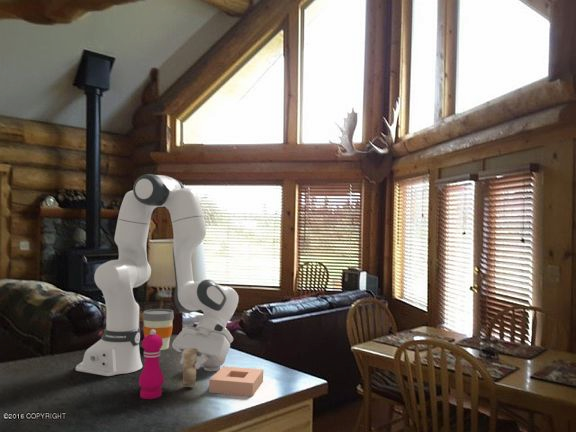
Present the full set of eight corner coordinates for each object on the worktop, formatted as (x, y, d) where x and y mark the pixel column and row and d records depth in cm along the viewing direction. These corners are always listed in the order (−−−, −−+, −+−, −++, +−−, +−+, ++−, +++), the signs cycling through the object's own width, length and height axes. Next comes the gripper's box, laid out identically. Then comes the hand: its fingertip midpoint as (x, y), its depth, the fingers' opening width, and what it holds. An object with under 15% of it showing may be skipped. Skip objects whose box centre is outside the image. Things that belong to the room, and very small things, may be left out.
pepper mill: (156, 401, 142) (158, 332, 142) (133, 398, 143) (135, 331, 143) (167, 392, 149) (169, 327, 149) (145, 390, 150) (147, 326, 150)
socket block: (209, 392, 150) (209, 379, 150) (222, 378, 164) (223, 366, 164) (252, 396, 147) (253, 383, 147) (263, 381, 161) (263, 369, 161)
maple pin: (180, 385, 152) (182, 350, 152) (185, 381, 156) (186, 347, 156) (192, 387, 151) (194, 352, 151) (197, 382, 155) (198, 348, 155)
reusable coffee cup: (148, 343, 207) (149, 308, 207) (177, 344, 205) (178, 309, 206) (136, 350, 194) (137, 313, 194) (166, 352, 193) (167, 315, 193)
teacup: (232, 362, 182) (233, 335, 182) (226, 374, 167) (227, 346, 167) (200, 361, 182) (201, 334, 182) (191, 373, 167) (192, 344, 168)
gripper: (181, 320, 165) (159, 355, 156) (229, 328, 154) (209, 366, 146) (190, 330, 168) (169, 365, 160) (237, 340, 158) (217, 377, 150)
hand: (188, 366), depth 153 cm, fingers closed on maple pin, 4 cm apart
